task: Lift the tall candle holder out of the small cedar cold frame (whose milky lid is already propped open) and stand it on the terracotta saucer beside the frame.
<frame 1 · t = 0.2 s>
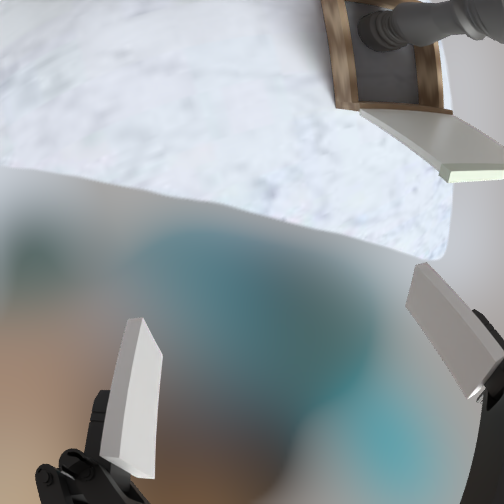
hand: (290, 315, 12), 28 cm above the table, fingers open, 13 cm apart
candle holder: (375, 33, 28), resting in cold frame
cold frame: (378, 51, 29), on the table
frame lid: (384, 108, 34), resting on cold frame
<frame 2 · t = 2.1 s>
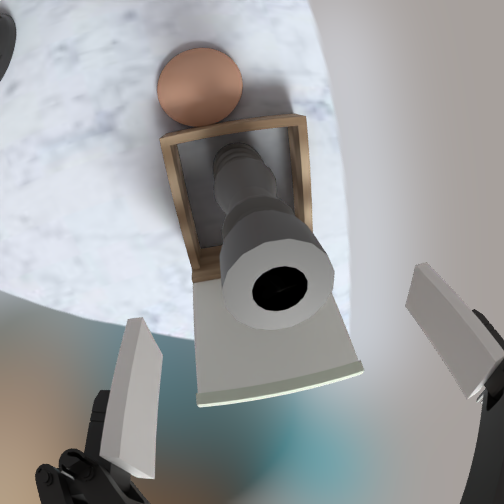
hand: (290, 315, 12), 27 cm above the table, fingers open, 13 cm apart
candle holder: (237, 165, 35), resting in cold frame
cold frame: (240, 187, 37), on the table
frame lid: (249, 246, 41), resting on cold frame
saucer: (199, 87, 29), on the table
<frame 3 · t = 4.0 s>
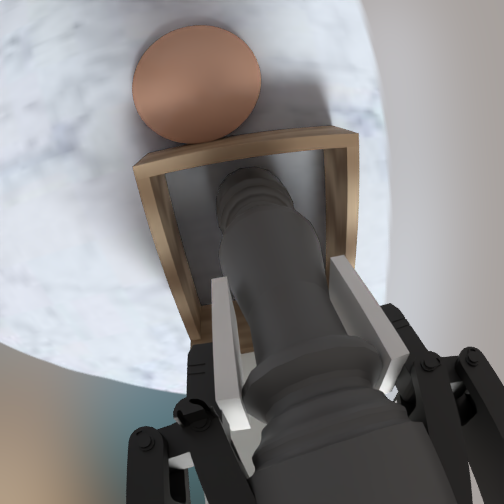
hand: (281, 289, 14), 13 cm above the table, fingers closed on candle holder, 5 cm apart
candle holder: (250, 199, 25), resting in cold frame, touching gripper
cold frame: (255, 229, 27), on the table
frame lid: (264, 301, 31), resting on cold frame
saucer: (196, 83, 19), on the table
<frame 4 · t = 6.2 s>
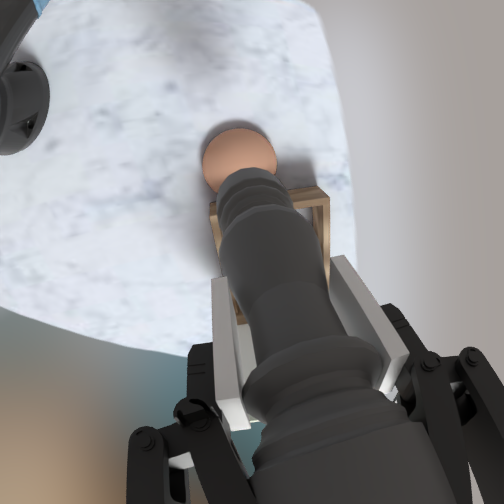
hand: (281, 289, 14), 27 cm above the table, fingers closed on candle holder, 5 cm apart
candle holder: (250, 199, 25), point 15 cm above the table, touching gripper
cold frame: (271, 247, 45), on the table
frame lid: (276, 291, 50), resting on cold frame
saucer: (239, 163, 38), on the table
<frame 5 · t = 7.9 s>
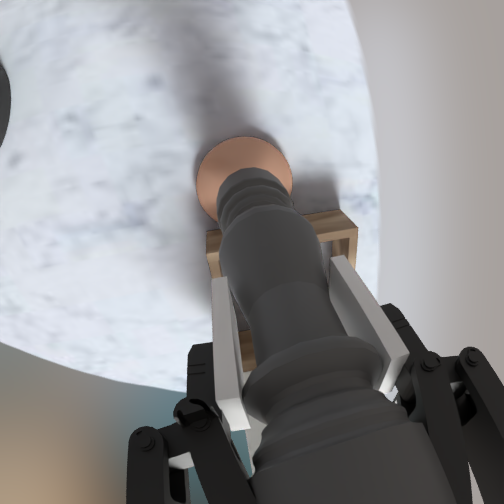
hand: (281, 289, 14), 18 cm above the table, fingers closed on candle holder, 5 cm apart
candle holder: (250, 199, 25), point 5 cm above the table, touching gripper
cold frame: (281, 281, 37), on the table
frame lid: (284, 327, 42), resting on cold frame
saucer: (243, 182, 30), on the table
when the fingers open (15 cm above the table, at t = 8.8 s): candle holder drops 1 cm, resting on saucer.
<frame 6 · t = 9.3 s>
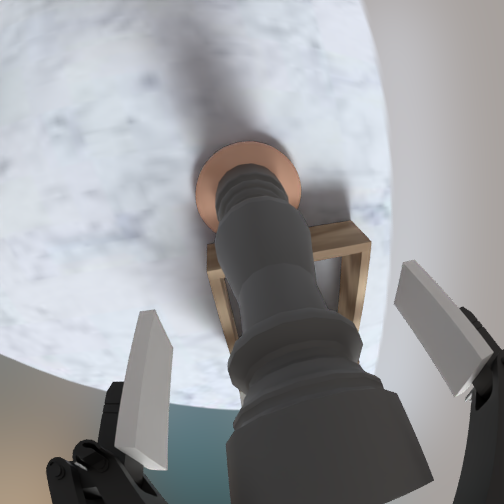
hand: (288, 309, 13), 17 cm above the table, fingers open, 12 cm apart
candle holder: (248, 194, 26), point 1 cm above the table, touching saucer
cold frame: (287, 296, 35), on the table
saucer: (247, 191, 27), on the table
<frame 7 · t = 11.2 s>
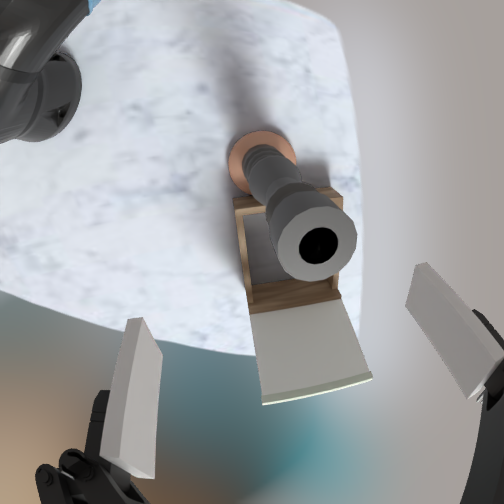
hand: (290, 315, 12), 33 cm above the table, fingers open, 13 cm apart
candle holder: (262, 164, 40), point 1 cm above the table, touching saucer
cold frame: (286, 241, 48), on the table
frame lid: (288, 284, 53), resting on cold frame
saucer: (261, 163, 41), on the table
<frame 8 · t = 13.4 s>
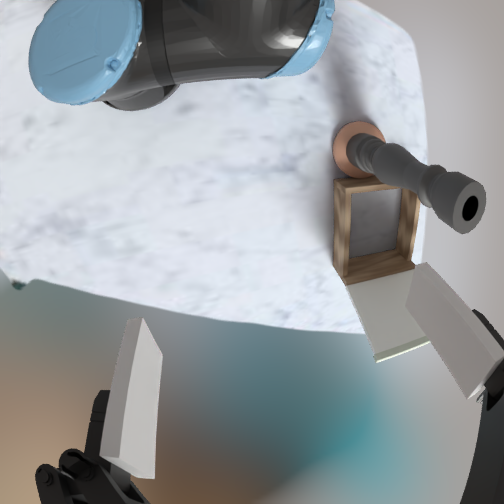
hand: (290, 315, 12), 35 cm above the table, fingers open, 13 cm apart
candle holder: (361, 150, 43), point 1 cm above the table, touching saucer
cold frame: (371, 219, 51), on the table
frame lid: (367, 258, 56), resting on cold frame
saucer: (358, 149, 43), on the table
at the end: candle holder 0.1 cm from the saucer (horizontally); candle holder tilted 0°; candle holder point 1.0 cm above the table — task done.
